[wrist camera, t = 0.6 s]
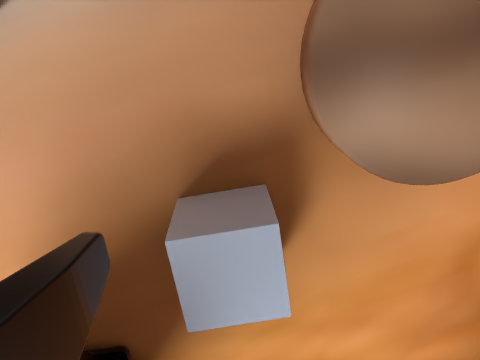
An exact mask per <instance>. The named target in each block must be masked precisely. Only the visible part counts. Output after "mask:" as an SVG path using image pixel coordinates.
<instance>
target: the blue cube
mask: <svg viewBox="0 0 480 360" xmlns="http://www.w3.org/2000/svg"><path fill="white" fill-rule="evenodd" d="M165 246H166V250H167V253H168V257H169V261H170V265H171V269H172V273H173V277H174V281H175V285H176V288H177V292H178V296H179V300H180V304H181V308H182V312H183V316H184V320H185V324H186V327H187V331H188V333H191V332H197V331H204V330H210V329H216V328H222V327H229V326H235V325H241V324H247V323H254V322H260V321H266V320H272V319H279V318H285V317H291V311H290V304H289V296H288V289H287V281H286V274H285V266H284V259H283V251H282V244H281V236H280V229H279V223H278V220H277V217H276V213H275V210H274V207H273V204H272V201H271V198H270V195H269V192H268V189H267V186H266V184H263V185H257V186H251V187H245V188H238V189H232V190H226V191H220V192H214V193H208V194H202V195H196V196H189V197H183V198H177V201H176V205H175V208H174V212H173V215H172V218H171V222H170V225H169V229H168V232H167V235H166V239H165Z"/></svg>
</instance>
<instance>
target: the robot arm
mask: <svg viewBox="0 0 480 360" xmlns="http://www.w3.org/2000/svg"><path fill="white" fill-rule="evenodd" d="M109 268H110V261H109V257H108V253H107V248H106V244H105V240H104V237H103V235H102V234H101V233H93V232H84V233H81V234H79V235H78V236H76V237H74V238H73V239H71V240H69V241H68V242H66V243H64V244H63V245H61V246H59V247H58V248H56V249H54V250H52V251H51V252H49V253H47V254H46V255H44V256H42V257H41V258H39V259H37V260H36V261H34V262H32V263H31V264H29V265H27V266H25V267H24V268H22V269H20V270H19V271H17V272H15V273H14V274H12V275H10V276H9V277H7V278H5V279H4V280H2V281H0V360H131V357H130V354H129V351H128V350H127V349H126V348H125V347H113V348H107V349H100V350H94V351H88V352H83V350H84V347H85V345H86V342H87V340H88V337H89V335H90V332H91V329H92V326H93V323H94V320H95V316H96V313H97V310H98V306H99V303H100V300H101V296H102V293H103V290H104V286H105V283H106V280H107V276H108V273H109ZM118 354H121V355H122V356H120V355H118Z"/></svg>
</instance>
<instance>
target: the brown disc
mask: <svg viewBox="0 0 480 360" xmlns="http://www.w3.org/2000/svg"><path fill="white" fill-rule="evenodd" d="M300 68H301V80H302V86H303V92H304V95H305V99H306V102H307V105H308V108H309V110H310V112H311V114H312V116H313V119H314V120H315V122H316V123H317V125H318V127H319V128H320V130H321V131H322V132H323V134H324V135H325V136H326V137H327V138H328V139H329V141H330V142H331V143H333V144H334V145H335V146H336V147H337V148H338V149H339V150H341V151H342V152H343V153H344V154H345V155H346V156H348V157H349V158H350V159H351V160H352V161H353V162H355V163H356V164H357V165H359V166H360V167H362V168H363V169H365V170H366V171H368V172H370V173H372V174H374V175H376V176H379V177H381V178H383V179H387V180H390V181H393V182H397V183H403V184H410V185H434V184H443V183H448V182H452V181H457V180H460V179H463V178H466V177H469V176H472V175H475V174H477V173H479V172H480V0H315V1H314V4H313V6H312V8H311V10H310V13H309V16H308V19H307V22H306V25H305V30H304V34H303V39H302V45H301V56H300Z"/></svg>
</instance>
